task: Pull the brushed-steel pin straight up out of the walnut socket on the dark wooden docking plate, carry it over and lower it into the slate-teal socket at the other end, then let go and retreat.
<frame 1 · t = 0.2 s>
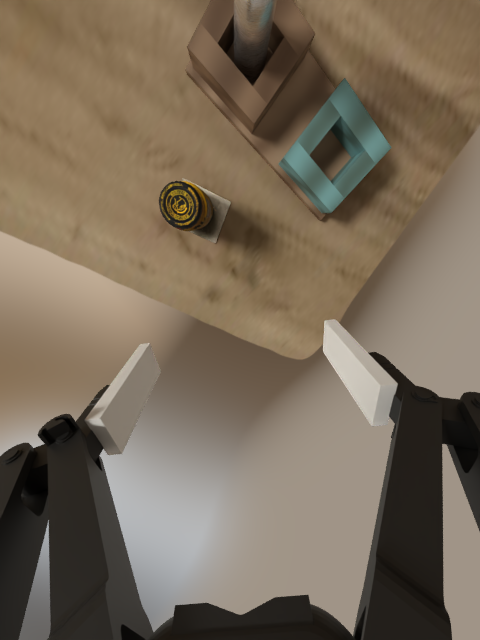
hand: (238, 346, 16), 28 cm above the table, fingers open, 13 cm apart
condiment: (200, 212, 37), on the table
dock station: (288, 118, 32), on the table
steel pin: (249, 63, 28), point 1 cm above the table, touching dock station
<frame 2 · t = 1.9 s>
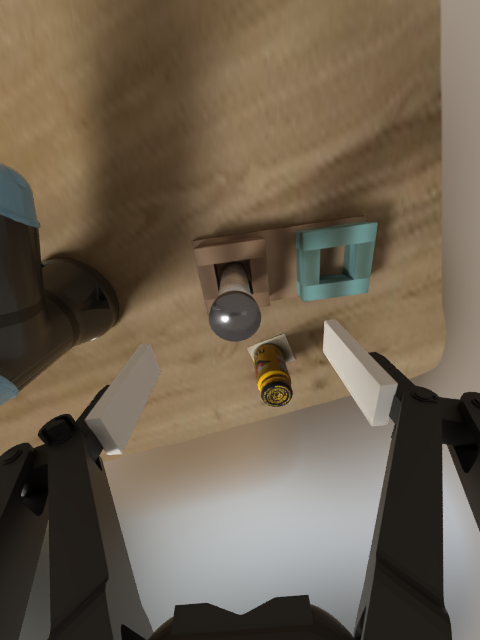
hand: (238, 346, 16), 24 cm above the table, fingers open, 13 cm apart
condiment: (271, 352, 46), on the table
dock station: (278, 265, 37), on the table
steel pin: (234, 273, 36), point 1 cm above the table, touching dock station
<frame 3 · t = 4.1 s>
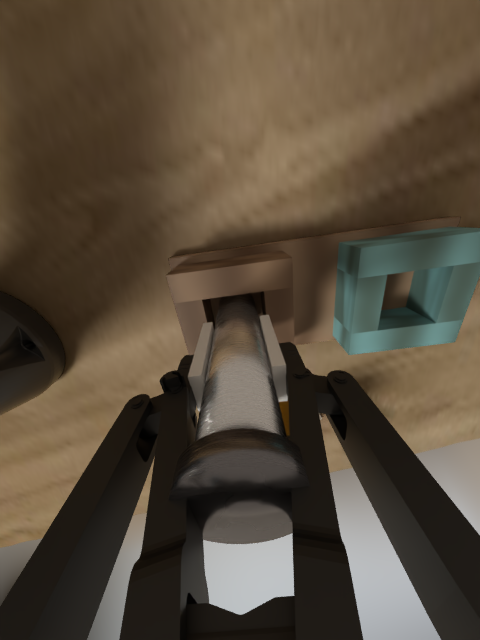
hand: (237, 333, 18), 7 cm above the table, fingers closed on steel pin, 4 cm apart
dock station: (306, 293, 24), on the table
steel pin: (237, 306, 23), point 1 cm above the table, touching dock station, gripper
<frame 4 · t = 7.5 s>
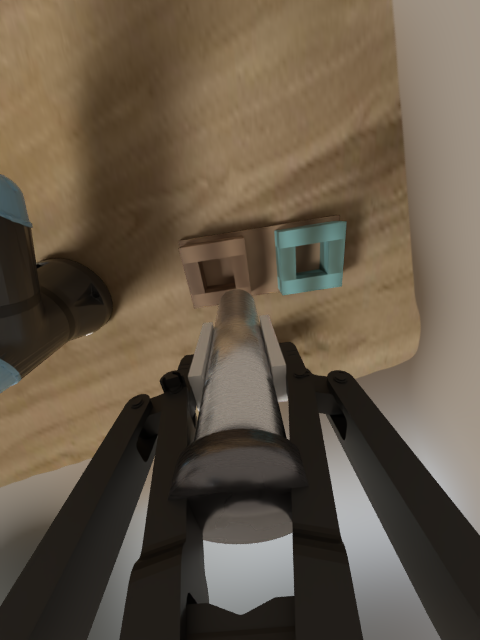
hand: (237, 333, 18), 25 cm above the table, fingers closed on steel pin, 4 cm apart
dock station: (260, 262, 40), on the table
steel pin: (236, 306, 23), point 19 cm above the table, touching gripper
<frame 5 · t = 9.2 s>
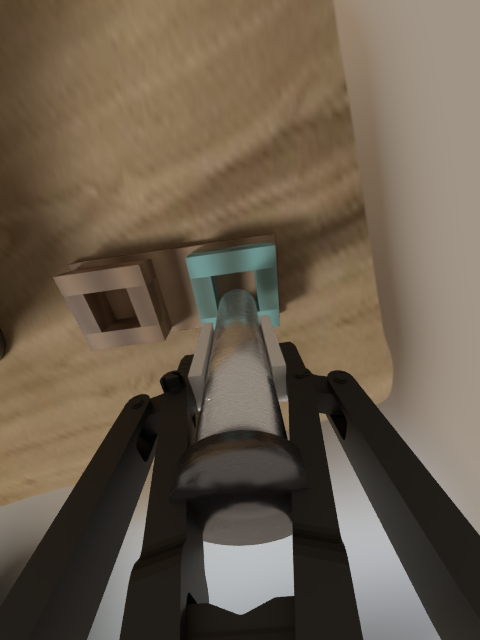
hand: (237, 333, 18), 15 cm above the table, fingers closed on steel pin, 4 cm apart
dock station: (182, 290, 32), on the table
steel pin: (237, 306, 23), point 9 cm above the table, touching gripper
when the fingers open (8 cm above the table, at t = 11.0 s): steel pin stays where it is, resting on dock station.
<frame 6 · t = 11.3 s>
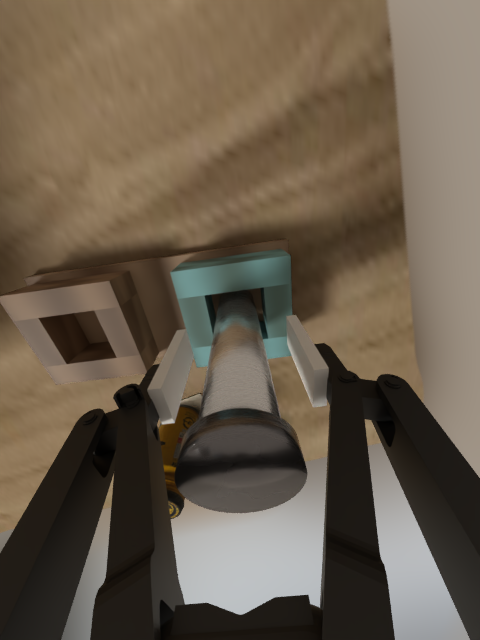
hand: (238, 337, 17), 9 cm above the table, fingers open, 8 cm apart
condiment: (188, 415, 34), on the table
dock station: (171, 308, 26), on the table
steel pin: (236, 303, 24), point 1 cm above the table, touching dock station
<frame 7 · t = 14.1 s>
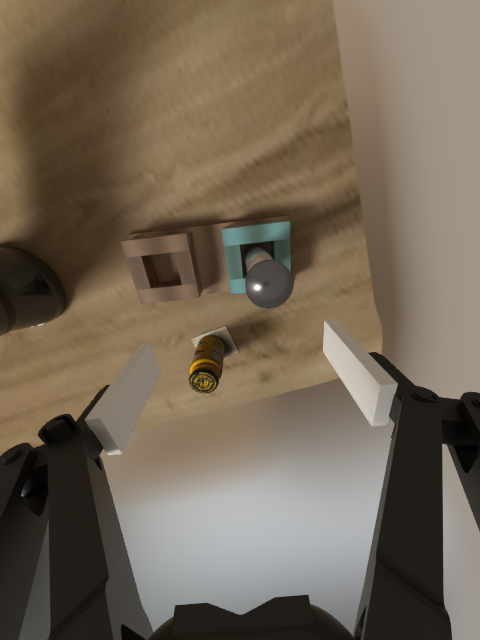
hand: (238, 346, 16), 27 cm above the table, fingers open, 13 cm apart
condiment: (215, 344, 48), on the table
dock station: (213, 260, 40), on the table
steel pin: (255, 256, 38), point 1 cm above the table, touching dock station
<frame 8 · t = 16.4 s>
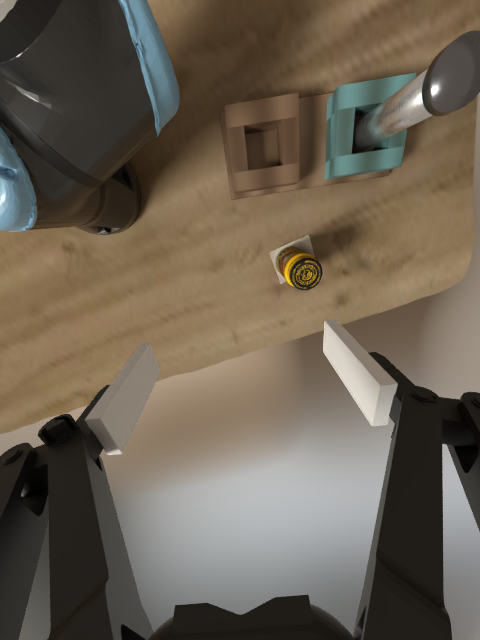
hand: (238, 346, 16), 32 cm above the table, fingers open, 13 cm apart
condiment: (293, 260, 45), on the table
dock station: (306, 147, 36), on the table
steel pin: (357, 137, 35), point 1 cm above the table, touching dock station
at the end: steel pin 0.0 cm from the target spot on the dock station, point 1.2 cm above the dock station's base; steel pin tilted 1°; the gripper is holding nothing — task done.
